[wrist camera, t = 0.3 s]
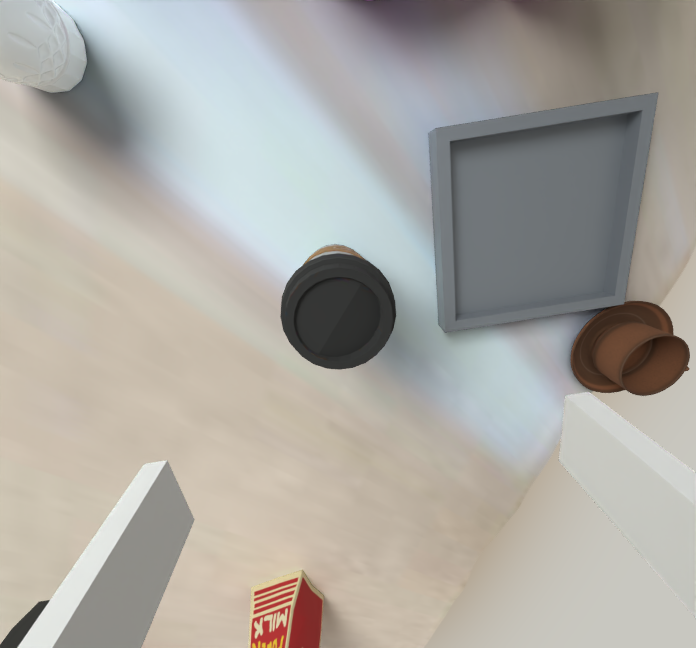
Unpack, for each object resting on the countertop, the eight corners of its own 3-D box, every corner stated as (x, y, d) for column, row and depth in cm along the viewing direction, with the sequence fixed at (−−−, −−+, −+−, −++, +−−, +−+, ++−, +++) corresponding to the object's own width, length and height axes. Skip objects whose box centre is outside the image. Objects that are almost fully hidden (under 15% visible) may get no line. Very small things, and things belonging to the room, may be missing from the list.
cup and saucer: (667, 289, 39) (726, 305, 33) (647, 377, 43) (696, 405, 38) (567, 304, 39) (608, 322, 33) (557, 390, 43) (592, 420, 38)
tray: (428, 133, 32) (435, 128, 30) (635, 99, 32) (658, 92, 29) (438, 324, 39) (445, 332, 37) (606, 298, 39) (623, 304, 37)
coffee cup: (387, 259, 36) (425, 298, 22) (349, 322, 38) (360, 393, 24) (319, 218, 34) (313, 233, 20) (283, 287, 36) (255, 343, 22)
